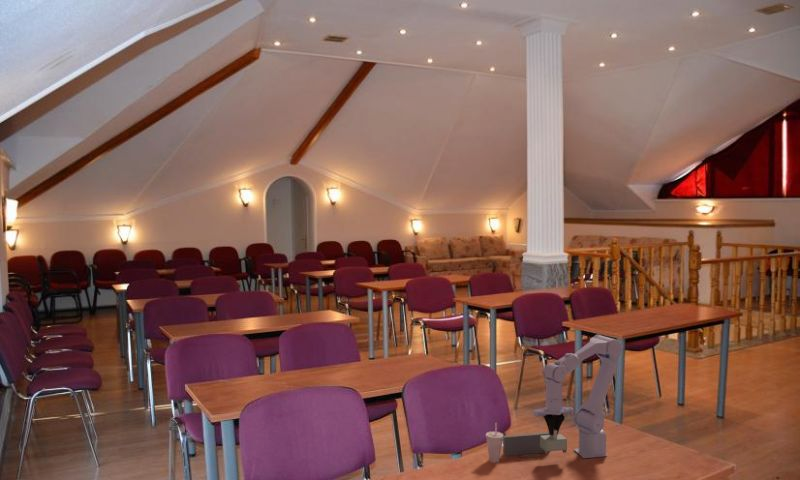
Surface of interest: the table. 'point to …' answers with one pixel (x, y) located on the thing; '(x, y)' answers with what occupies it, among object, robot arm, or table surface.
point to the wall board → (523, 444)
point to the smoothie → (494, 445)
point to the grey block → (553, 442)
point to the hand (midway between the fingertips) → (553, 434)
